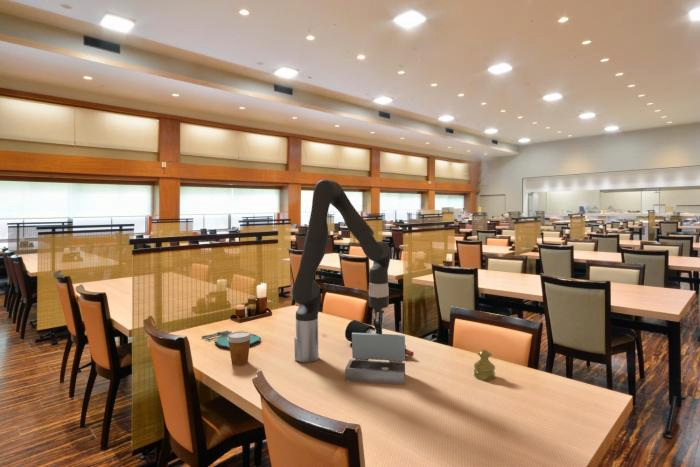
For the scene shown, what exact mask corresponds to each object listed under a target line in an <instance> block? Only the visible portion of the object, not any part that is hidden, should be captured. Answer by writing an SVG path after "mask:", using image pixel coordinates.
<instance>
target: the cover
mask: <svg viewBox="0 0 700 467" xmlns="http://www.w3.org/2000/svg"><path fill="white" fill-rule="evenodd" d="M405 345H406V335H405V334H389V333H382V334H371V333H352V342H351V347H352V348H351V351H352V353H351V356H352V359H354V360H368V361H369V360H371V361H388V362H402V363H403V362H406V355H405Z"/></svg>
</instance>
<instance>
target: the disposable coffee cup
mask: <svg viewBox="0 0 700 467" xmlns="http://www.w3.org/2000/svg"><path fill="white" fill-rule="evenodd" d="M250 334H251V333H250V331H245V330H241V331H239V330H238V331H232V333H230V334H228V338H227V340H228V342H229V348H228V349H229V352H230V359H231V360H230V361H231V365H232V366H233V367H234V366H235V367H241V366H245V365H247V364H248V363H249V354H250V346H251V345H250V339H251V335H250Z"/></svg>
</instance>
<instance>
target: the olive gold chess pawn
mask: <svg viewBox="0 0 700 467" xmlns="http://www.w3.org/2000/svg"><path fill="white" fill-rule="evenodd" d="M477 356H479V357H480V358H479V360H477V361H476V362H474V364H473V367H474V369H473V376H474V377H475V378H476V379H478V380H481V381H493V380H495V379H496V378H495V377H496V376H495V374H496V371H495V370H496V366H495V364H494V363H493V362H492V361H491V360H490V359H489V358H490V357H492V352H491V351H489V350H487V349H481V350H479V351H477Z"/></svg>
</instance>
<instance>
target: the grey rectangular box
mask: <svg viewBox="0 0 700 467" xmlns="http://www.w3.org/2000/svg"><path fill="white" fill-rule="evenodd" d="M383 366H387V367H390V368H392V370H378V368H379V367H383ZM344 374H345V375H344V381H345V382H357V383H358V382H359V383H360V382H361V383H370V384H371V383H374V384H389V385H405V376H406V362H403V361H402V362H389V361H386V360H369V359H368V360H355V359H349V361H348V362H347V364H346V366H345V368H344Z"/></svg>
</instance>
